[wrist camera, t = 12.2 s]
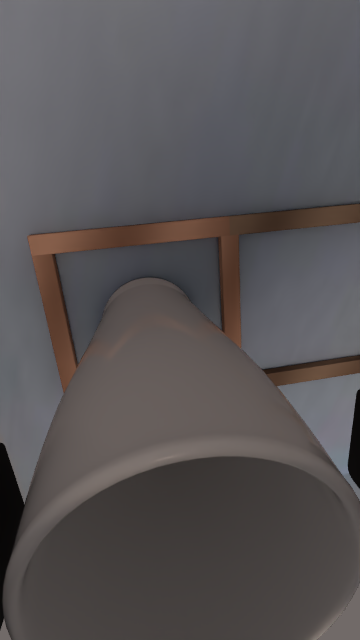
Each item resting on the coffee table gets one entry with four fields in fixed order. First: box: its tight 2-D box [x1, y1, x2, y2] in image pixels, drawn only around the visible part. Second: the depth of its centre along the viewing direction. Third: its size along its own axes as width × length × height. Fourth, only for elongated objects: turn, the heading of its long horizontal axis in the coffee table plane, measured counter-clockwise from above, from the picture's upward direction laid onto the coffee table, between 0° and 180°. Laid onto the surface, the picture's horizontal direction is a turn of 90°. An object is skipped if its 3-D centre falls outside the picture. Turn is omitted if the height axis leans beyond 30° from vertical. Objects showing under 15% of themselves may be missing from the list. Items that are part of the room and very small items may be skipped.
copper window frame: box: [27, 203, 360, 392], centre depth 21 cm, size 31×11×1 cm, turn 95°
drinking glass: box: [2, 278, 360, 640], centre depth 13 cm, size 7×7×15 cm
